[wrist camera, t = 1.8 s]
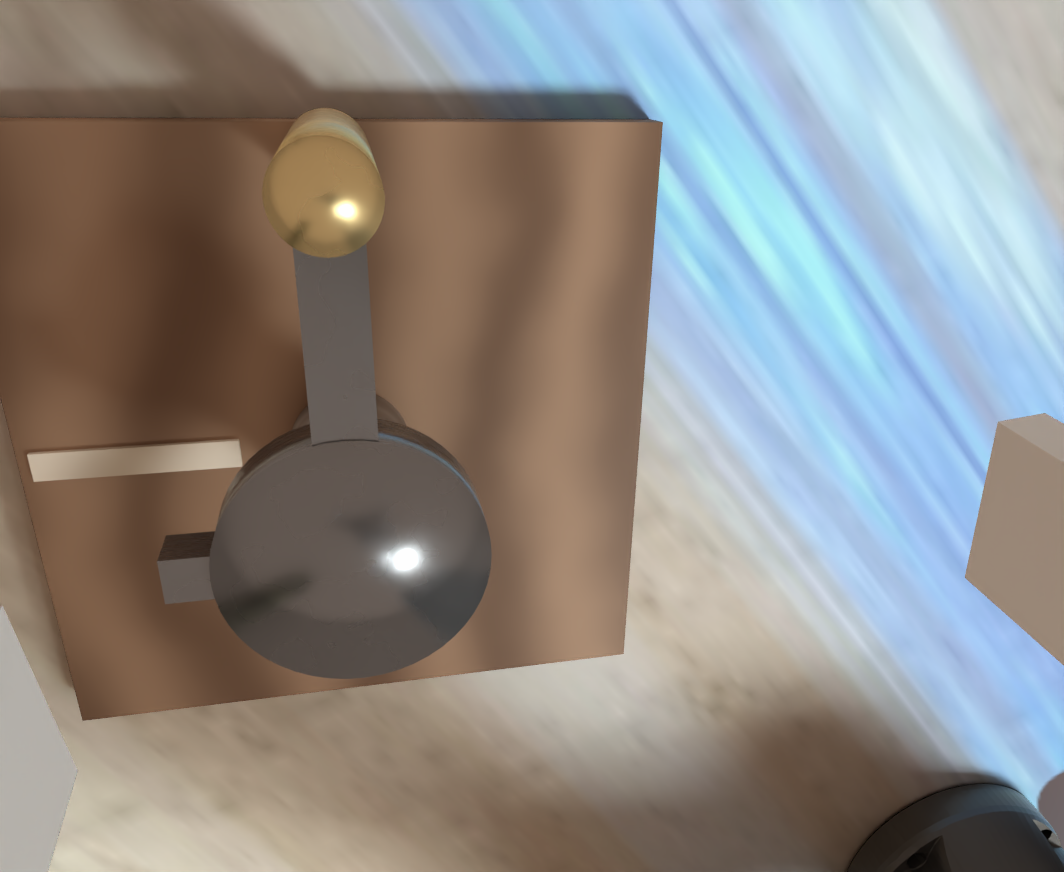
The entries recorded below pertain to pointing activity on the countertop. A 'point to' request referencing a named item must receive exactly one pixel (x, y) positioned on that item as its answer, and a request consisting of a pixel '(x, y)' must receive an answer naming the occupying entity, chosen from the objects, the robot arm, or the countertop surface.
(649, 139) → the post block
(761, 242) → the countertop surface
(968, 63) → the countertop surface
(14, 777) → the robot arm
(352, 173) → the crank handle
